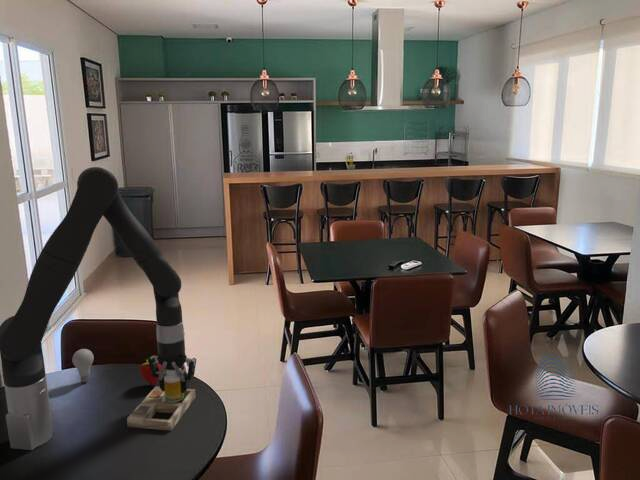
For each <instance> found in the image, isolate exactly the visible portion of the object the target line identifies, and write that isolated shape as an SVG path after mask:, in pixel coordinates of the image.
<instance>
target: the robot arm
mask: <svg viewBox="0 0 640 480" xmlns="http://www.w3.org/2000/svg"><path fill="white" fill-rule="evenodd" d="M76 182H77V183H76V187H77V188H76V191H75V194H74V197H73V199H72V202H71V204H70V207H69V208H68V210H67V213H66V215H65V216H64V218H63V219H62V220H61V222H60V223H59V224H58V225H57V226H56V228H55V229H54V230H53V232H52V233H51V235H50V236H49V237H48V240H46V242H45V244H44V246H43V247H42V249H41V251H40V253H39V255H38V257H37V260H36V261H35V263H34V266H33V268H32V270H31V274H30V277H29V279H28V282H27V286H26V290H25V294H24V296H23V299H22V301H21V304H20V306H19V307H18V309H17V310H16V312H15V314H14V315H12V316H10V317H8V318H7V319H5V320H4V321H3V322H1V324H0V361H1V370H2V371H1V372H2V378H3V383H4V384H3V385H4V391H5V399H6V407H7V411H8V412H7V414H6V415H5V421H6V426H7V427H6V428H7V433H8V434H7V435H8V439H9V446H10V449H16V450H25V451H33V450H34V449H36V448H38V447H40V446H43V445H44V444H46V443H48V442H49V441H50V440H51V439H52V438H53V436H54V429H53V422H52V415H51V414H52V413H51V407H50V399H49V392H48V391H49V390H48V383H47V373H46V366H45V358H44V352H43V346H42V341H43V338H44V335H45V332H46V330H47V327H48V325H49V323H50V320H51V317H52V315H53V313H54V312H55V309H56V308H57V306H58V304H59V303H60V301H61V299H62V298H63V296H64V295H65V293H66V291H67V289H68V287H69V286H70V284H71V282H72V280H73V278H74V276H75V275H76V273H77V271H78V269H79V267H80V265H81V263H82V261H83V259H84V257H85V254H86V252H87V251H88V248H89V245H90V243H91V240H92V237H93V235H94V232H95V230H96V228H97V225H98V224H99V222H101V219H102V218H103V217H104V219H105V220H106V221H107V222H108V223H109V225H110V226H111V227H112V229H113V230H114V232H115V234H116V235H117V237H118V238H119V240H120V241H121V243H122V245H123V246H124V248H125V249H126V250H127V252H128V253H129V254H130V256H131V257H132V259H133V260H134V262H135V263H136V264H137V265H138V266H139V268H140V269H141V270H142V271H143V273H144V274H145V276H146V277H147V279H148V280H149V282H150V284H151V285H152V288H153V295H154V301H155V319H156V330H155V331H156V333H155V334H156V341H157V342H156V343H157V353H158V355H154V354H153V355H151V356H150V357H148V359H147V360H148V362H149V366H150V369H151V373H152V376H153V377H154V378H155V377H157V378H158V379H159V380H158V381H159V383H158V384H159V387H160V389H162V391H165V387H164V376H165V375H166V369H169V370H175V371H176V373H177V375H179V377H180V379H181V393H185V391H186V390H187V389H189V381H191V380H192V378H193V377H194V376H195V372H196V366H197V358H195V357H193V358H189V357H187V355H186V343H185V328H184V324H183V311H182V310H183V309H182V305H181V302H180V296H179V295H180V293H179V292H180V291H181V288H182V281H181V278H180V276H179V274H178V273H177V271H176V270H175V269H173V267H172V266H171V265H170V263H169V262H168V260H166V257H165V256H164V254H163V252H162V250H161V249H160V247H159V246H158V245H157V243H156V242H155V240H154V238H152V236H151V234H150V233H149V232H148V231H147V230H146V228H145V227H144V226H143V224H141V223H140V221H139V220H138V219H137V217H135V215H134V213H132V211H131V209H129V207H128V206H127V204H126V202H125V201H124V199H123V198H122V195H121V193H120V192H119V183H118V179H117V178H116V176H115V174H113V173H112V172H111V171H109V170H107V169H106V168H103V167H99V166H93V167H89V168H85V169H84V170H83V171H82V172H80V174H79V175H78V177H77V181H76ZM158 363H159V364H160V365H161V366H162V368H161V370H160V371H159V367H158ZM185 363H186V366H187V367H188V368H186V366H185Z"/></svg>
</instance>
